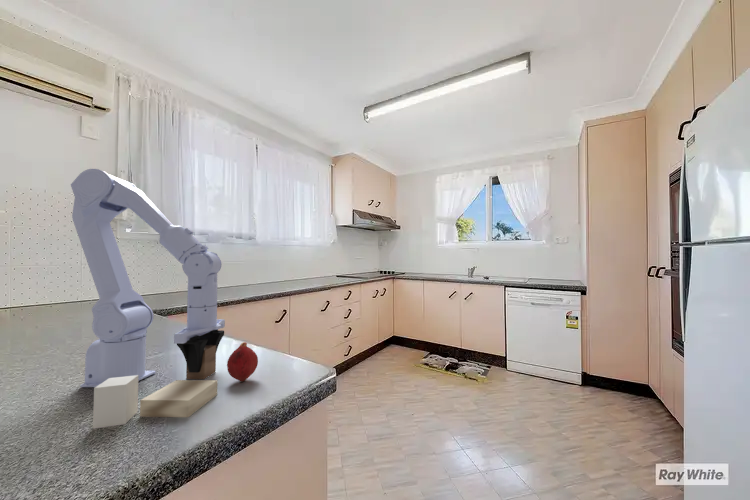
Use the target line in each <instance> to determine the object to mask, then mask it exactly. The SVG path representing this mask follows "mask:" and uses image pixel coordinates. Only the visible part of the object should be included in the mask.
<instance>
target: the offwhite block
mask: <svg viewBox="0 0 750 500" xmlns="http://www.w3.org/2000/svg"><path fill="white" fill-rule="evenodd" d="M138 376H139V375H134V376H125V377H115V378H109V379H107V380H106V381H104V382H103V383H101V384H100V385H98V386H97V387H93V414H92V416H93V417H92V419H93V420H92V429H99V428H109V427H113V426H122V425H126V424H127V423H128V422H129V421H130V420H131V419H132V418H133V417H134V416H135V415H136V414H137V413H138V411H139V409H138V407H139V405H138V403H139V381H138Z"/></svg>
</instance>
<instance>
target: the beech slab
mask: <svg viewBox="0 0 750 500" xmlns="http://www.w3.org/2000/svg"><path fill="white" fill-rule="evenodd" d="M218 383H219V381H218V380H217V379H216V380H215V379H214V380H213V379H211V380H210V379H180V380H179V379H176V380H174V381H172V382H170V383H169V384H167V385H164V386H163V387H161V388H159V389H158V390H155V391H154V392H152V393H150V394H149V395H147V396H145V397H144V398H142V399H140V400H139V401H140V403H139V404H140V405H139V408H140V409H139V416H140V418H141V417H143V418H145V417H147V418H190V417H191V416H192V415H193V414H194V413H196V412H197V411H198V410H200V409H201V408H202V407H203V406H205V405H206V404H208V403H209V402H210V401H211V400H213V399H214V398H215V397H216V396H217V395H218Z"/></svg>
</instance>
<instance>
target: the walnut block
mask: <svg viewBox="0 0 750 500" xmlns="http://www.w3.org/2000/svg"><path fill="white" fill-rule="evenodd" d="M216 361H217V351H216V345H206V346H205V348H204V352H203V357H202V366H201V370H200V372H198V373H197V372H189V370H188V367H187V366H186V367H185V368H186V370H185V371H186V373H185V374H186V376H185V377H186V378H185V380H206V379H207V378H209V377H210V376H212V375H213V374H215V373H216V372H215V371H216V369H217V367H216V366H217V362H216ZM214 372H215V373H214ZM211 374H212V375H211ZM208 376H209V377H208ZM205 378H206V379H205Z"/></svg>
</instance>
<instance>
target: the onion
mask: <svg viewBox="0 0 750 500" xmlns="http://www.w3.org/2000/svg"><path fill="white" fill-rule="evenodd" d="M226 363H227V365H226V366H227V373H228V374H229V375H230V377H231V378H233V379H235V380H237V381H239V382H242V383H243V382H245V381H246V380H248V379H249V377H250V376H252V375H253V374H254V372H255V371H256V369H257V368H258V365H259V364H258V363H259V357H258V355H257V353H256V352H255V350H253V349H252V348H251V347H249V346H248V343H247V341H243V342H241V344H239V346H238V347H237V348H236V349H235V350H234V351H233V352H232V353H231V354H230V355H229V356H228V359H227V362H226Z"/></svg>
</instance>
